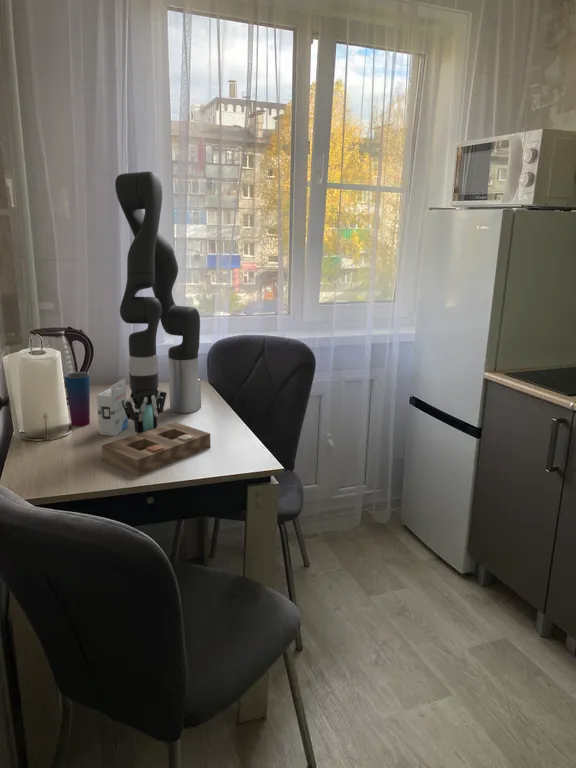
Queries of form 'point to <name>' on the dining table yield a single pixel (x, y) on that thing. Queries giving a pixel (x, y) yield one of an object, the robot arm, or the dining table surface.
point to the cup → (78, 397)
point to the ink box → (112, 410)
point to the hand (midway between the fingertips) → (146, 430)
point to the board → (155, 447)
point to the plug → (148, 418)
